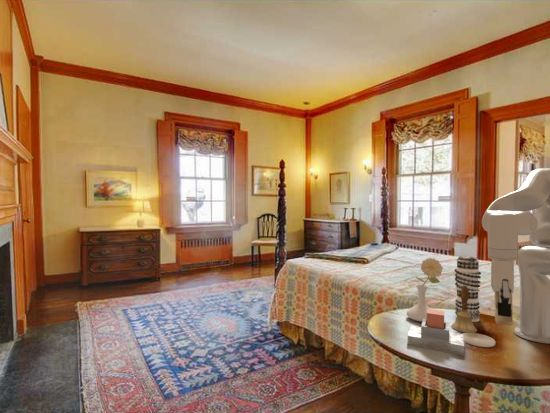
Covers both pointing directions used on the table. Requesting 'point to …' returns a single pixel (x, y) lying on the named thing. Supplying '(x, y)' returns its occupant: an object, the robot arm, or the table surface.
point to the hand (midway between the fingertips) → (503, 312)
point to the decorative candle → (468, 285)
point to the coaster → (478, 340)
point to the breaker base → (436, 338)
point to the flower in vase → (429, 269)
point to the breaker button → (435, 318)
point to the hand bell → (464, 315)
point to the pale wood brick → (502, 319)
